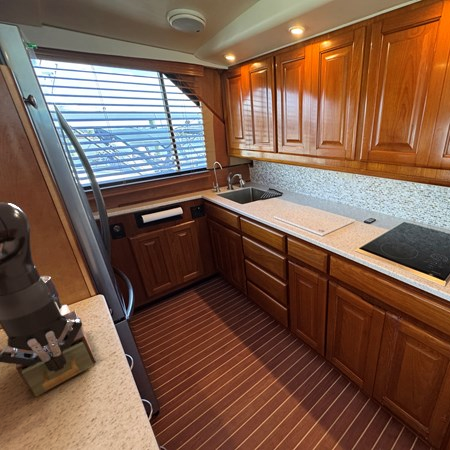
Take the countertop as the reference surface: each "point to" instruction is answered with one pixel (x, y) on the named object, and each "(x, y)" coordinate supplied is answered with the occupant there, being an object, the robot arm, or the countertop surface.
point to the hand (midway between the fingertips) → (59, 367)
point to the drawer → (45, 379)
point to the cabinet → (80, 336)
